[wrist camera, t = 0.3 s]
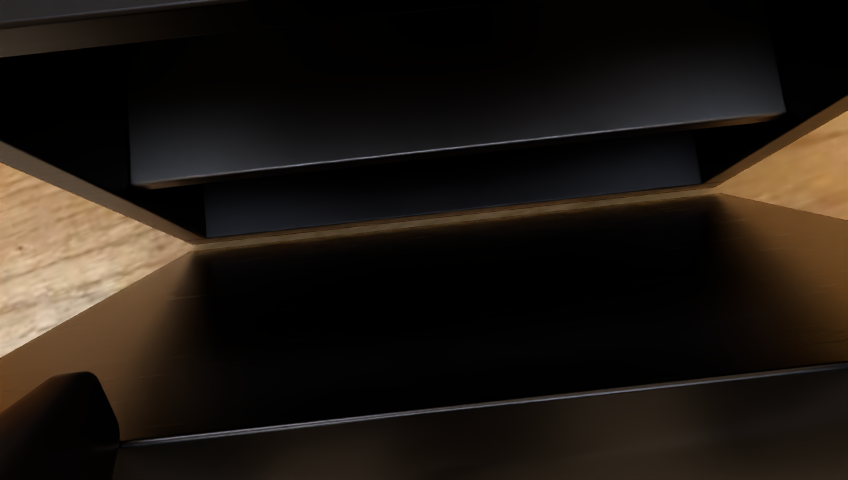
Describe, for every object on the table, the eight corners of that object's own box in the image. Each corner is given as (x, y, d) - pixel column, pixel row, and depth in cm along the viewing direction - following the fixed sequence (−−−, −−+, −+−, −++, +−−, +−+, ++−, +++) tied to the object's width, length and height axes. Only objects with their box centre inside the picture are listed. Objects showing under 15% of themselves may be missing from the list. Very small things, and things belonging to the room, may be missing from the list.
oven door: (726, 313, 23) (1256, 627, 9) (208, 370, 23) (-136, 781, 9) (722, 193, 22) (1293, 313, 8) (187, 251, 22) (-223, 480, 8)
